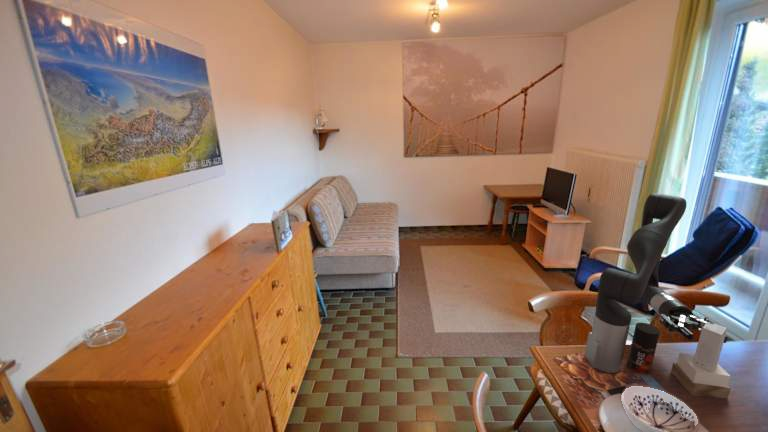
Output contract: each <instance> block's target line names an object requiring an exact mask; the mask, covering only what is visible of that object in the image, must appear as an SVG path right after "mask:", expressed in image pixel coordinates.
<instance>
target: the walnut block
mask: <svg viewBox="0 0 768 432" xmlns="http://www.w3.org/2000/svg"><path fill="white" fill-rule="evenodd" d="M676 363H677V362H673V363H672V365H671V366H672V367H671V370H670V373H671V374H672V376H674V378H675V379H677V381H678V382H679V383H680V384H681V385H682V386H683V388H685V390H687V392H688V393H689V394H690V395H691V396H697V397H709V398H719V399H729V395H730V393H731V389H732V388H731V387H730V386H729V384H728V385H727V388H726V387H719V386H712V385H705V384H698V383H693V382H692V381H691V380H690V379H689V377H688V376H687V375H686V374H685V373H684V372H683V370H682V369H681V368H680V367H679V366H678V365H677V364H676Z"/></svg>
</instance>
